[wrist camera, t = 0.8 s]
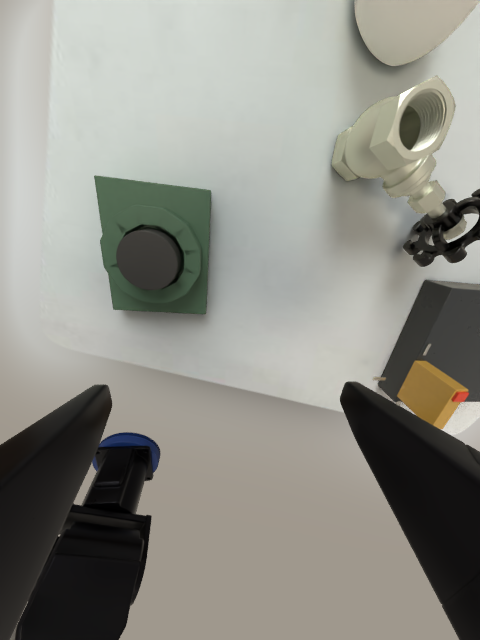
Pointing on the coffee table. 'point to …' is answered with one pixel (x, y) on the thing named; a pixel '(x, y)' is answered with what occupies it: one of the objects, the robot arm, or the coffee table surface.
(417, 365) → the tap handle
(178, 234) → the button box
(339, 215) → the coffee table surface
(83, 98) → the coffee table surface
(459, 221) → the valve
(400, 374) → the panel
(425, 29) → the figurine
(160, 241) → the button
